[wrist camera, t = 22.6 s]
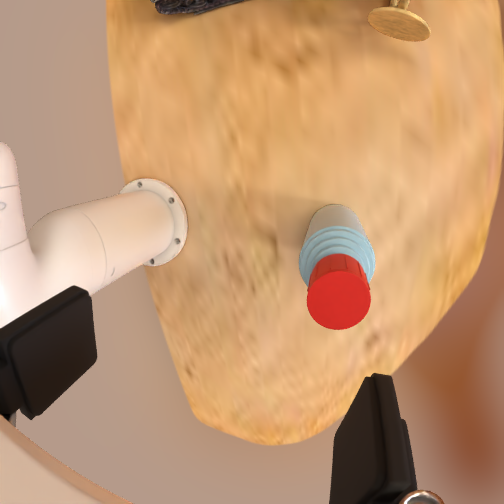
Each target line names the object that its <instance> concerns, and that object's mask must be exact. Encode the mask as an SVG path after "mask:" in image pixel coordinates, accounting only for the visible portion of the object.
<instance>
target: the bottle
mask: <svg viewBox="0 0 504 504" xmlns="http://www.w3.org/2000/svg"><path fill="white" fill-rule="evenodd" d="M330 254H346V255H349V256H351V257H353V258H355V259H356V260H357V261H359V263H360V264H361V266H362V268H363V270H364V273H366V277H367V280H368V284H369V282H370V280H371V278H372V276H373V273H374V270H375V255H374V251H373V248H372V246H371V244H370V242H369V240H368V238H367V235H366V233H365V231H364V229H363V227H362V225H361V223H360V221H359V219H358V217H357V216H356V214H355V213H354V212H353V211H352V210H351V209H349V208H347V207H345V206H343V205H338V204H332V205H327V206H325V207H323V208H321V209H319V210H318V211H317V212H316V213H315V214H314V216H313V217H312V219H311V222H310V225H309V228H308V231H307V234H306V237H305V240H304V243H303V246H302V249H301V253H300V257H299V269H300V273H301V276H302V278H303V280H304V282H305V284H306V285H307V286H308V285H309V280H310V275H311V274H312V271H313V269H314V267H315V265H316V264H317V262H319V261H320V260H321V259H322V258H324V257H326V256H328V255H330Z"/></svg>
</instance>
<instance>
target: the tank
mask: <svg viewBox="0 0 504 504" xmlns="http://www.w3.org/2000/svg"><path fill="white" fill-rule="evenodd" d="M150 1H151V2H152V3H155V8H156V9H157V11H158V12H159V13H162V14H177V13H190V12H194V15H196V14H199V13H203V12H206V11H207V10H211V9H214V8H218V7H221V6H225V5H228V4H232V3H236V2H240V1H244V0H154V1H153V0H150ZM182 9H183V10H182ZM187 11H188V12H187Z"/></svg>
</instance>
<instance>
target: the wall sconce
mask: <svg viewBox="0 0 504 504" xmlns="http://www.w3.org/2000/svg"><path fill="white" fill-rule="evenodd" d="M397 1H398V0H390V7H380V8H376V9H373V10H372V11H371V12H370V13H369V15H368V21H369V23H370V25H371V26H372V27H373V28H375V29H376V30H378V31H379V32H381V33H383V34H385V35H388V36H390V37H393V38H396V39H400V40H405V41H423V40H426V39H428V38H429V36H430V28H429V26H428V24H427V23H426V22H425V21H424V20H423V19H422V18H420V17H419V16H417V15H415V14H414V13H411V12H409V11H406V10H407V7H408V5H409V2H410V0H400V1H399V4H398V5H397Z"/></svg>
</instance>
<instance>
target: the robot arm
mask: <svg viewBox="0 0 504 504" xmlns="http://www.w3.org/2000/svg"><path fill="white" fill-rule="evenodd" d="M173 199H174V201H173ZM187 230H188V222H187V215H186V211H185V208H184V206H183V203H182V201H181V199H180V198H179V196H178V195H177V193H176V192H175V191H174V190H173V189H172V188H171V187H169V186H168V185H167V184H166V183H164V182H161V181H159V180H156V179H152V178H143V179H137V180H135V181H132V182H130V183H129V184H127V185H126V186H125V187H124V188H123V189H122V190H121V191H120V192H119V194H118V195H116V196H111V197H106V198H102V199H98V200H94V201H90V202H85V203H81V204H77V205H74V206H69V207H66V208H62V209H58V210H55V211H52V212H50V213H48V214H47V215H45V216H43V217H42V218H41V219H40V220H39V221H37V222H36V223H35V224H34V225H33V227H32V228H31V229H30V230H29V232H28V233H27V232H26V227H25V222H24V215H23V209H22V202H21V196H20V187H19V180H18V172H17V165H16V160H15V157H14V155H13V153H12V150H11V149H10V148H9V147H8V146H7V145H6V144H5V143H3V142H1V141H0V504H133V503H131V502H129V501H127V500H125V499H123V498H121V497H119V496H117V495H115V494H113V493H111V492H110V491H108V490H106V489H104V488H102V487H100V486H99V485H97V484H95V483H93V482H92V481H90V480H88V479H86V478H85V477H83V476H82V475H80V474H78V473H77V472H75V471H74V470H72V469H71V468H69V467H67V466H66V465H64V464H63V463H61V462H60V461H58V460H57V459H56V458H54V457H53V456H51V455H50V454H49V453H47V452H46V451H44V450H43V449H42V448H40V447H39V446H38V445H36V444H35V443H34V442H32V441H31V440H30V439H29V438H27V437H26V436H25V435H24V434H22V433H21V432H20V431H19V430H18V429H16V428H15V425H16V411H17V410H18V409H19V408H20V411H21V413H22V414H24V415H25V416H26V417H28V418H29V419H30V420H32V419H33V418H34V417H35V416H38V415H41V414H42V413H43V412H44V411H45V410H46V409H47V408H48V407H49V406H50V405H51V404H52V403H53V402H54V401H55V400H56V399H58V397H60V396H61V395H62V394H63V393H64V392H65V391H66V390H67V389H68V388H69V387H70V386H71V385H72V384H73V383H74V382H75V381H76V380H78V379H79V378H80V377H81V376H82V375H83V374H84V373H85V372H86V371H87V370H88V369H89V368H90V367H91V366H92V365H93V364H94V363H95V362H96V359H97V349H96V341H95V333H94V322H93V311H92V300H91V297H90V296H91V295H92V294H94V293H95V292H97V291H99V290H100V289H102V288H103V287H105V286H106V285H108V284H110V283H112V282H113V281H115V280H116V279H118V278H120V277H122V276H123V275H125V274H127V273H128V272H130V271H132V270H133V269H135V268H137V267H138V266H140V265H142V264H143V265H147V266H159V265H162V264H165V263H167V262H169V261H170V260H172V259H173V258H174V257H176V256H177V255H178V253H179V252H180V251H181V249H182V247H183V246H184V244H185V240H186V237H187ZM179 239H180V241H179ZM329 504H444V502H443V500H442V499H441V498H440V497H439V496H438V495H437V494H435V493H433V492H431V491H426V490H417V482H416V475H415V469H414V462H413V457H412V450H411V445H410V439H409V434H408V429H407V424H406V422H405V420H404V419H401V417H400V413H399V407H398V402H397V397H396V393H395V388H394V384H393V380H392V377H391V376H389V375H383V374H377V373H373V374H372V375H371V377H365V379H364V381H363V383H362V385H361V387H360V389H359V391H358V393H357V395H356V397H355V399H354V400H353V402H352V404H351V406H350V408H349V410H348V412H347V414H346V415H345V417H344V419H343V421H342V423H341V425H340V426H339V428H338V430H337V432H336V434H335V437H334V447H333V464H332V477H331V490H330V501H329Z"/></svg>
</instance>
